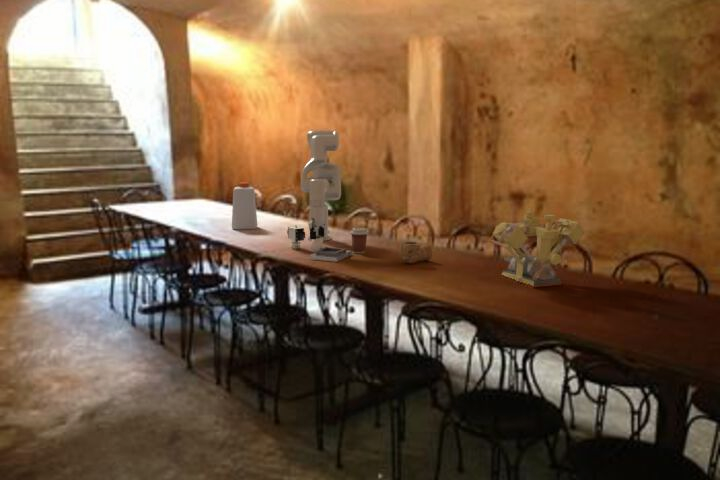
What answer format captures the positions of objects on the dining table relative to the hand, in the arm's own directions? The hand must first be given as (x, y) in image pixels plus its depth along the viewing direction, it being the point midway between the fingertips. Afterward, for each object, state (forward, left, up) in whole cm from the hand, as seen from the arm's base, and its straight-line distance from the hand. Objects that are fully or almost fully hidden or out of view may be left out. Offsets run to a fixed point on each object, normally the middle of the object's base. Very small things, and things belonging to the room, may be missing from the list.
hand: (317, 237), depth 308 cm
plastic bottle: (-48, -71, -7) cm, 86 cm away
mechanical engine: (+19, +107, -7) cm, 109 cm away
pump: (-1, 0, -7) cm, 7 cm away
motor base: (+9, +12, -7) cm, 16 cm away
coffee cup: (-8, +20, -7) cm, 22 cm away
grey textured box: (+4, +53, -7) cm, 53 cm away
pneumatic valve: (-4, -13, -7) cm, 16 cm away
